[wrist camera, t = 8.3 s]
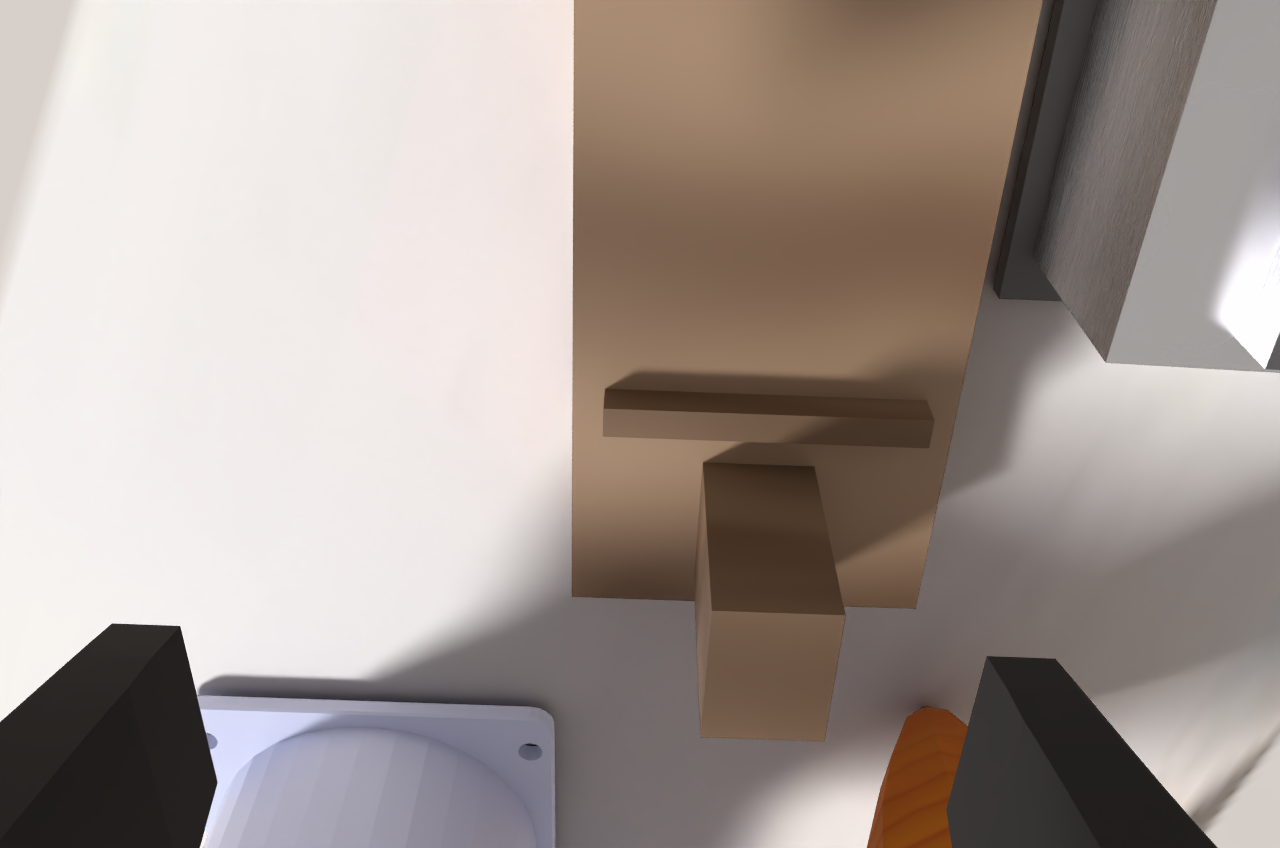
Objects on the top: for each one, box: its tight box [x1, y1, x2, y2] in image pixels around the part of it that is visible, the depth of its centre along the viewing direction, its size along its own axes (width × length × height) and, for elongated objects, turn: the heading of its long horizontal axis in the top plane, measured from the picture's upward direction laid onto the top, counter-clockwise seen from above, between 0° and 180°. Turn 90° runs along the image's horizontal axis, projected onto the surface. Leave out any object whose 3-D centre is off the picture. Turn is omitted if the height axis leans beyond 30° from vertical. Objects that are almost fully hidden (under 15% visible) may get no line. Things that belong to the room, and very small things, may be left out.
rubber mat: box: [993, 0, 1099, 301], centre depth 18 cm, size 7×6×1 cm
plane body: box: [572, 0, 1043, 741], centre depth 16 cm, size 12×6×6 cm, turn 178°
